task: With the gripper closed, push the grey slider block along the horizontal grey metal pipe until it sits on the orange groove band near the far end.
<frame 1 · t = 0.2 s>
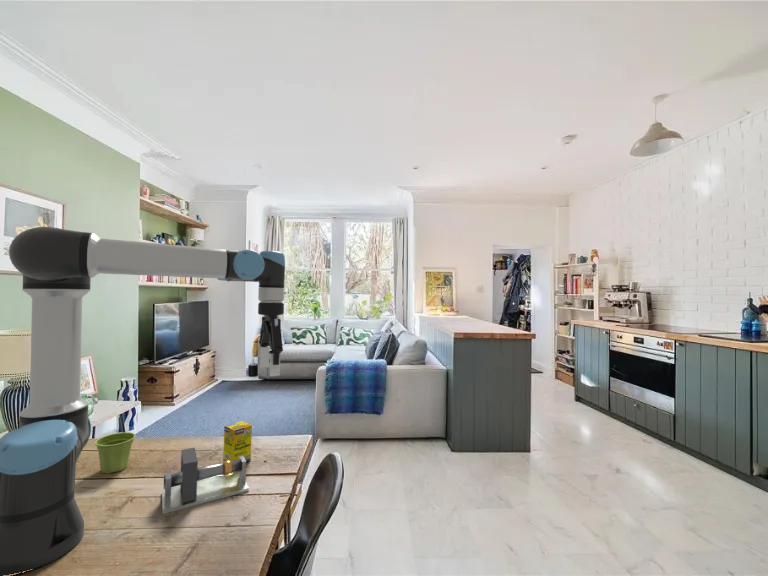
hand: (269, 371, 107), 28 cm above the table, fingers open, 13 cm apart
grey slider block: (188, 473, 88), point 6 cm above the table, slide at 0.0 cm
pipe jig: (205, 492, 90), on the table
supplement box: (237, 461, 107), on the table
plant pot: (114, 469, 102), on the table
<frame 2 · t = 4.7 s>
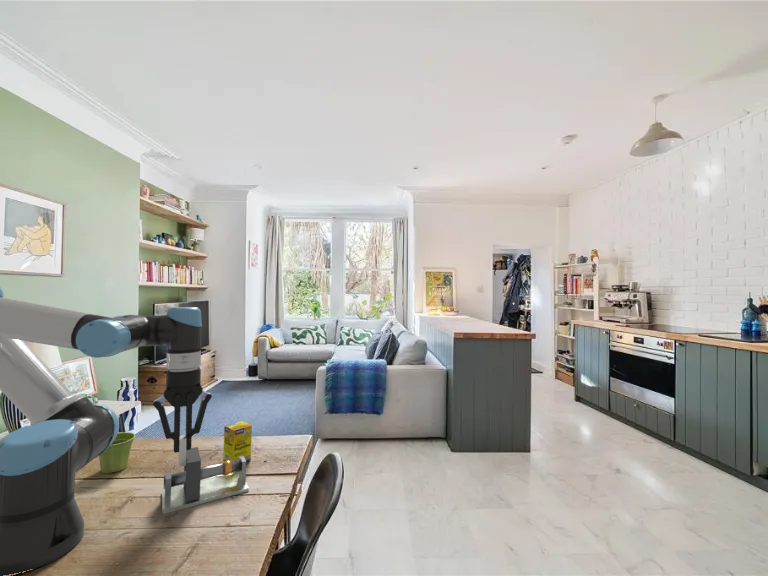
hand: (182, 463, 87), 9 cm above the table, fingers closed
grey slider block: (192, 473, 89), point 6 cm above the table, slide at 0.7 cm, touching gripper
everything else where it was.
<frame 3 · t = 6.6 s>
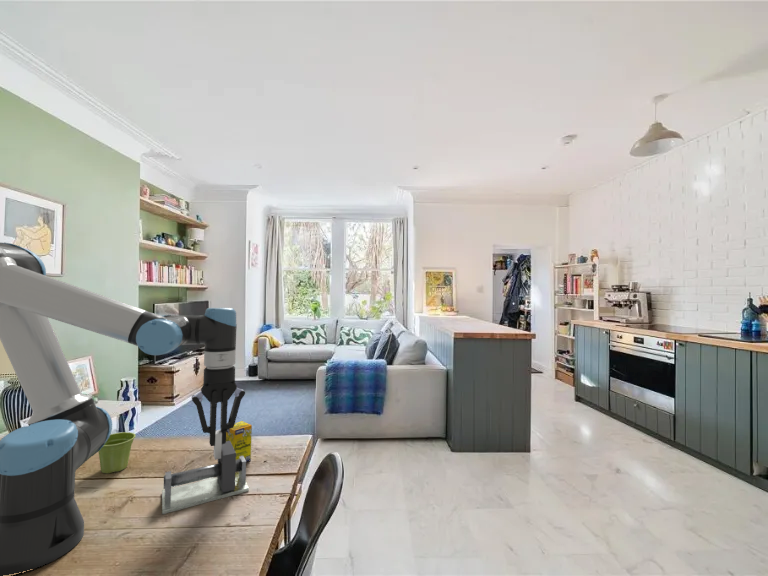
hand: (217, 456, 92), 8 cm above the table, fingers closed
grey slider block: (226, 465, 93), point 6 cm above the table, slide at 8.7 cm, touching gripper
everything else where it was.
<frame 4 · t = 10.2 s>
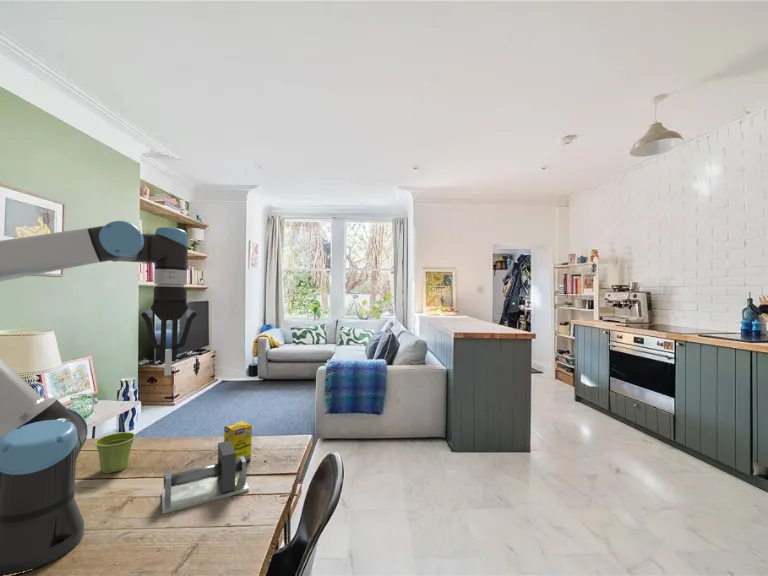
hand: (167, 374, 94), 29 cm above the table, fingers closed
grey slider block: (226, 465, 93), point 6 cm above the table, slide at 8.7 cm
everything else where it was.
at the end: grey slider block slide at 8.7 cm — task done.
